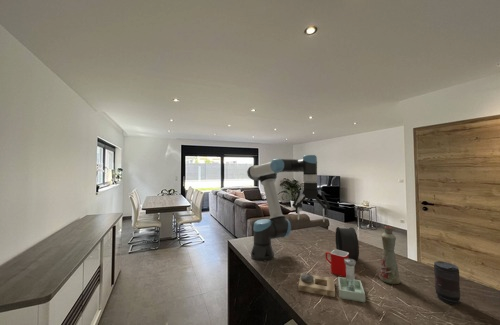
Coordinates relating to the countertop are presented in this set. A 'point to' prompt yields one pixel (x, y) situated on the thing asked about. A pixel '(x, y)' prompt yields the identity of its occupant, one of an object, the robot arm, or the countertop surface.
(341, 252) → the mug
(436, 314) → the countertop surface
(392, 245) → the bottle
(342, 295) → the tray
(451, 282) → the camera lens
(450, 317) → the countertop surface
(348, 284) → the lock pin
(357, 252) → the wheel rim
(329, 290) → the block
